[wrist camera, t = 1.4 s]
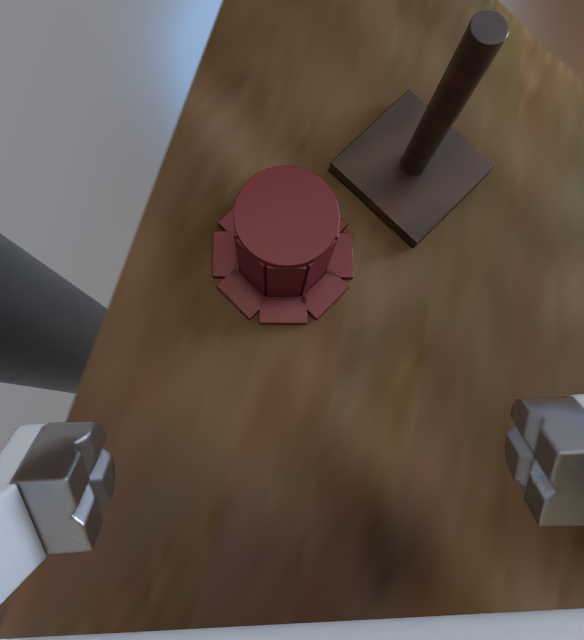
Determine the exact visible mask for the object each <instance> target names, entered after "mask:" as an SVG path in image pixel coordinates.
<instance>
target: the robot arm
mask: <svg viewBox="0 0 584 640" xmlns="http://www.w3.org/2000/svg"><path fill="white" fill-rule="evenodd" d="M510 416H511V418H512V419H513V421H514V423H515V425H514V426H513V427H512V428H511V429H510V430H509V431H508V432H507V434H506V441H505V455H506V462H507V465H508V468H509V471H510V473H511V475H512V477H513V479H514V481H516V482H517V483H519V484H520V485H522V486H523V487H525V488H526V491H525V496H524V500H525V502H526V503H527V505H528V507H529V509H530V511H531V513H532V515H533V516H534V518H535V520H536V522H537V524H538V526H539V527H557V526H584V394H578V395H568V396H559V397H542V398H525V399H516V400H515V402H514V403H513V405H512V409H511V414H510ZM106 438H107V436H106V433H105V430H104V427H103V424H101V423H100V422H98V421H93V422H62V423H48V424H46V423H41V424H23V425H21V426H19V427H18V428H16V430H15V431H14V433H13V434H12V436H11V437H10V439H9V440H8V442H7V443H6V445H5V446H4V448H3V449H2V451H1V452H0V604H1V603H2V602H3V601H4V600H5V599H6V598H7V597H8V596H9V595H10V594H11V593H12V592H13V591H14V590H15V589H16V588H17V587H18V586H19V585H20V584H21V583H22V582H23V581H24V580H25V579H26V578H27V577H28V576H29V575H30V574H31V573H32V572H33V571H34V570H35V568H36V567H37V566H38V565H39V564H40V563H41V562H42V561H43V560H44V559H45V558H46V557H47V556H46V554H58V553H70V552H82V551H92V550H93V547H94V545H95V542H96V539H97V536H98V534H99V531H100V528H101V525H102V523H103V519H102V516H101V513H100V510H101V509H102V508H104V507H105V506H106V505H107V504H108V503H109V502H110V500H111V497H112V494H113V491H114V484H115V464H114V460H113V457H112V454H111V453H110V452H108V451H107V450H106V449H105V448H103V445H104V443H105V441H106ZM0 640H584V608H581V609H562V610H543V611H524V612H505V613H486V614H468V615H449V616H430V617H411V618H392V619H373V620H354V621H335V622H316V623H297V624H278V625H259V626H240V627H220V628H201V629H182V630H164V631H145V632H126V633H107V634H88V635H69V636H50V637H31V638H12V639H0Z"/></svg>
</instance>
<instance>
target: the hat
mask: <svg viewBox="0 0 584 640" xmlns="http://www.w3.org/2000/svg"><path fill="white" fill-rule="evenodd" d="M218 225H219V226H220V227H221V228H222V229H223V230H224V231H214V232H213V264H212V277H213V278H224V279H222V280H221V281H220V282H219V283H218V284H217V285H216V287H217V288H218V289H219V290H220V291H221V292H222V293H223V294H224V295H225V296H226V297H227V298H228V299H229V300H230V301H231V302H232V303H233V304H234V305H235V306H236V307H237V308H238V309H239V310H240V311H241V312H242V313H243V314H244V315H245V316H246V317H247V318H248V319H249V320H250V319H251V318H253V317H254V316H255V315H256V314H257V313H258V312H259V324H307V312H308V313H309V314H310V315H311V316H312V317H313V318H314V319H315V320H317V319H318V318H319V317H320V316H321V315H322V314H323V313H324V312H325V311H326V310H327V309H328V308H329V307H331V306H332V305H333V304H334V303H335V302H336V301H337V300H338V299H339V298H340V297H341V296H342V295H343V294H344V293H345V292H346V291H347V290H348V289H349V285H348V284H347V283H346V282H344V281H343V280H342V279H353V241H352V233H341V232H342V231H343V230H344V229H345V228H346V227H347V225H348V223H347V222H345V221H344V220H343V219H342V218H341V217H340V213H339V206H338V201H337V200H336V197H335V195H334V193H333V191H332V190H331V188H330V187H329V186H328V184H327V183H326V182H325V181H324V180H323V179H321V178H320V177H319V176H318V175H316V174H314V173H313V172H311V171H309V170H306V169H303V168H300V167H296V166H276V167H271V168H268V169H265V170H263V171H261V172H259V173H257V174H256V175H254V176H253V177H252V178H250V179H249V180H248V181H247V182H246V183H245V184H244V186H243V187H242V188H241V190H240V192H239V194H238V195H237V196H236V200H234V208H233V209H232V210H231V211H229V212H228V213H227V214H226V215H225V216H224V217H223V218H222V219H221V220H220V221H218ZM240 271H241V272H240ZM325 272H326V273H325ZM266 294H267V296H265V295H266ZM300 295H301V296H300Z"/></svg>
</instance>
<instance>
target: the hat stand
mask: <svg viewBox="0 0 584 640" xmlns="http://www.w3.org/2000/svg"><path fill="white" fill-rule="evenodd" d="M508 34H509V26H508V23H507V21H506V19H505V18H504V17H503V16H502V15H500V14H499V13H497V12H494V11H489V10H485V11H481V12H478V13H477V14H475V15H474V16H473V17H472V19H471V21H470V23H469V25H468V27H467V29H466V31H465V33H464V35H463V37H462V39H461V41H460V43H459V45H458V47H457V49H456V51H455V53H454V55H453V57H452V59H451V61H450V63H449V65H448V67H447V69H446V71H445V73H444V75H443V77H442V79H441V81H440V83H439V84H438V86H437V88H436V90H435V92H434V94H433V96H432V98H431V100H430V102H429V104H428V106H427V105H426V104H425V103H424V102H423V101H422V100H420V99H419V98H418V97H417V96H416V95H415V94H414V93H413V92H411V91H410V90H408V91H407V92H406V93H405V94H404V95H403V96H402V97H401V98H399V99H398V100H397V101H396V102H395V103H394V104H393V105H392V106H391V107H390V108H389V109H388V110H387V111H385V112H384V113H383V114H382V115H381V116H380V117H379V118H378V119H377V120H376V121H375V122H374V123H372V124H371V125H370V126H369V127H368V128H367V129H366V130H365V131H364V132H363V133H362V134H361V135H360V136H358V137H357V138H356V139H355V140H354V141H353V142H352V143H351V144H350V145H349V146H348V147H347V148H345V149H344V150H343V151H342V152H341V153H340V154H339V155H338V156H337V157H336V158H335V159H334V160H333V161H331V163H330V167H329V170H330V171H331V172H332V173H333V174H334V175H335V176H336V177H337V178H338V179H339V180H341V181H342V182H343V183H344V184H345V185H346V186H347V187H348V188H349V189H350V190H351V191H352V192H353V193H354V194H356V195H357V196H358V197H359V198H360V199H361V200H362V201H363V202H364V203H365V204H366V205H367V206H368V207H370V208H371V209H372V210H373V211H374V212H375V213H376V214H377V215H378V216H379V217H380V218H381V219H382V220H384V221H385V222H386V223H387V224H388V225H389V226H390V227H391V228H392V229H393V230H394V231H395V232H396V233H397V234H399V235H400V236H401V237H402V238H403V239H404V240H405V241H406V242H407V243H408V244H409V245H410V246H411V247H413V248H414V247H415V246H416V245H417V244H418V243H419V242H420V241H421V240H422V239H423V238H424V237H425V236H426V235H427V234H428V233H429V232H430V231H431V230H432V229H433V228H434V227H435V226H436V225H437V224H438V223H439V222H440V221H441V220H442V219H443V218H444V217H445V216H446V215H447V214H448V213H449V212H450V211H451V210H452V209H453V208H454V207H455V206H456V205H457V204H458V203H459V202H460V201H461V200H462V199H463V198H464V197H465V196H466V195H467V194H468V193H469V192H470V191H471V190H472V189H473V188H474V187H475V186H476V185H477V184H478V183H479V182H480V181H481V180H482V179H483V178H484V177H485V176H486V175H487V174H488V173H489V172H490V171H491V169H492V168H493V167H494V164H492V163H491V162H490V161H489V160H488V159H487V158H486V157H485V156H483V155H482V154H481V153H480V152H479V151H478V150H477V149H476V148H474V147H473V146H472V145H471V144H470V143H469V142H468V141H467V140H465V139H464V138H463V137H462V136H461V135H460V134H459V133H458V132H456V131H455V130H454V129H453V128H452V125H453V124H454V122H455V121H456V119H457V117H458V116H459V114H460V113H461V111H462V109H463V108H464V106H465V104H466V103H467V101H468V100H469V98H470V96H471V95H472V93H473V92H474V90H475V88H476V87H477V85H478V83H479V82H480V80H481V79H482V77H483V75H484V74H485V72H486V71H487V69H488V67H489V66H490V64H491V63H492V61H493V59H494V58H495V56H496V54H497V53H498V51H499V50H500V48H501V46H502V45H503V43H504V42H505V40H506V38H507V36H508Z"/></svg>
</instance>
